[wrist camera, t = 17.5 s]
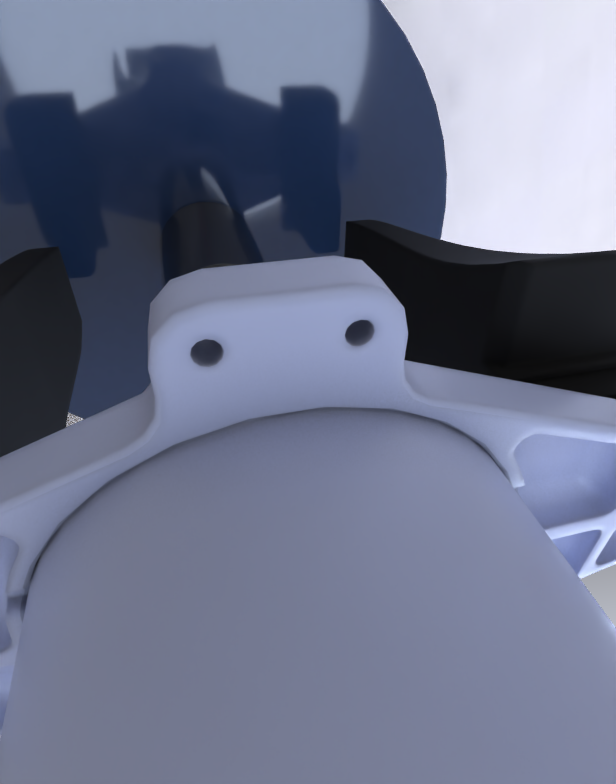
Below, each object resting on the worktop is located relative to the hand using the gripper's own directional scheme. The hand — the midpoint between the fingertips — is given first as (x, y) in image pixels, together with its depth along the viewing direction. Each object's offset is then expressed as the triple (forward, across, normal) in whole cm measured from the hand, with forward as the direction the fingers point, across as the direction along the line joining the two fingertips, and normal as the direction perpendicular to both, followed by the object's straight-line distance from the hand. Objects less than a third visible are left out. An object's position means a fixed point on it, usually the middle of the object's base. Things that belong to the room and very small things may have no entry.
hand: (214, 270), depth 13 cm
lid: (+2, 0, 0) cm, 2 cm away
